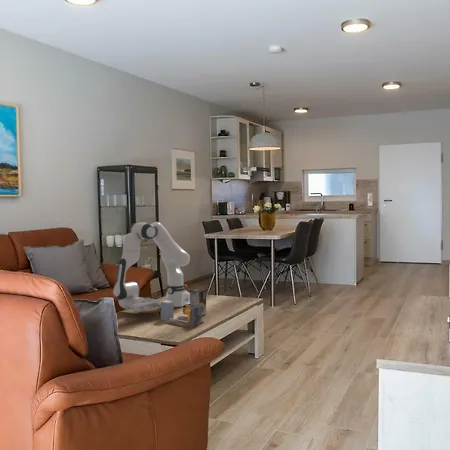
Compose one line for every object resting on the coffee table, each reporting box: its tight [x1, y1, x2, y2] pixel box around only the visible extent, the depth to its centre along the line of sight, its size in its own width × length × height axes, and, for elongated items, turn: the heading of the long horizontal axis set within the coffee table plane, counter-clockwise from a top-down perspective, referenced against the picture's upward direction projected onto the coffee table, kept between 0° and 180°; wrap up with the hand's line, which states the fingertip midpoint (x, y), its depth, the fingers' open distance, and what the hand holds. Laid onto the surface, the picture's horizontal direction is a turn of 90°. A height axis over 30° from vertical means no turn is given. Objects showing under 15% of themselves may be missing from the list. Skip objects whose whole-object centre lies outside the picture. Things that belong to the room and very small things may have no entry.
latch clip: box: [187, 309, 191, 322], centre depth 307 cm, size 6×2×8 cm, turn 145°
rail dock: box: [165, 306, 204, 329], centre depth 310 cm, size 14×18×11 cm
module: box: [160, 299, 174, 322], centre depth 318 cm, size 5×6×12 cm
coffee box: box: [189, 288, 207, 316], centre depth 330 cm, size 9×6×16 cm
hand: (155, 307), depth 323 cm, fingers open, 8 cm apart
